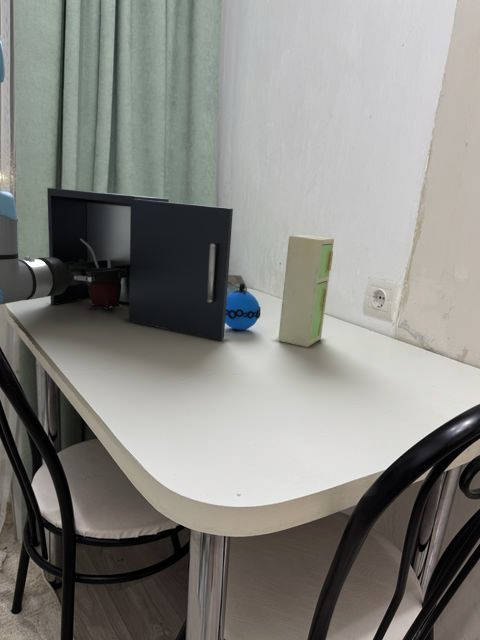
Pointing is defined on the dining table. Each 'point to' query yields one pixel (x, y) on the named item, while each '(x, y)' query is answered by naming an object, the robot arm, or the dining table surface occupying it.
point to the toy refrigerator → (305, 289)
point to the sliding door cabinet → (149, 255)
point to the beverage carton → (234, 283)
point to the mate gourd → (104, 290)
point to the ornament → (241, 309)
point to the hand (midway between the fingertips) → (118, 268)
